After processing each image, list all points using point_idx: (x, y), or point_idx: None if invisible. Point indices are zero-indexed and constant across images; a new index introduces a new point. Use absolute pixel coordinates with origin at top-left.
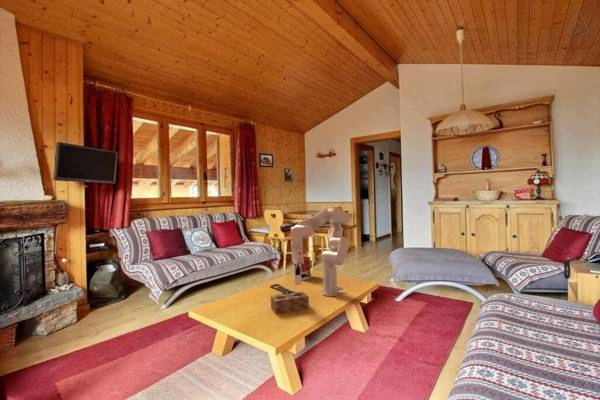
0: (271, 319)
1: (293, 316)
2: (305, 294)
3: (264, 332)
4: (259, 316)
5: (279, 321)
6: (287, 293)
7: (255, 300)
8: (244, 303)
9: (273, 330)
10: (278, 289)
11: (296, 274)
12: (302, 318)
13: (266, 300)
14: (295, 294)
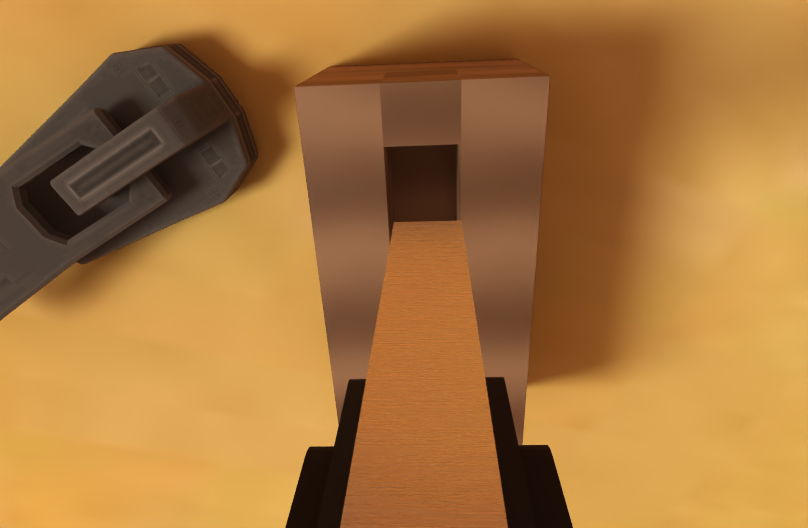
0: (581, 434)
1: (626, 275)
2: (459, 97)
3: (754, 507)
4: None
5: (652, 396)
6: (122, 224)
7: (134, 453)
8: (187, 522)
9: (768, 461)
10: (5, 306)
11: None
12: (720, 215)
13: (151, 383)
14: (388, 232)
